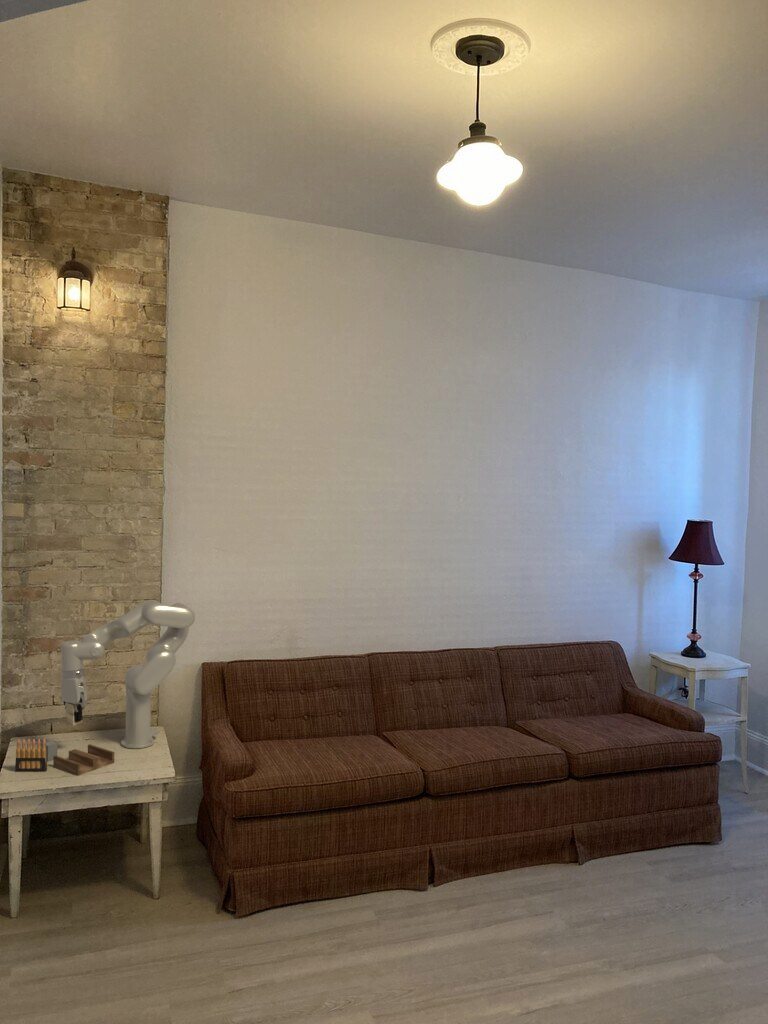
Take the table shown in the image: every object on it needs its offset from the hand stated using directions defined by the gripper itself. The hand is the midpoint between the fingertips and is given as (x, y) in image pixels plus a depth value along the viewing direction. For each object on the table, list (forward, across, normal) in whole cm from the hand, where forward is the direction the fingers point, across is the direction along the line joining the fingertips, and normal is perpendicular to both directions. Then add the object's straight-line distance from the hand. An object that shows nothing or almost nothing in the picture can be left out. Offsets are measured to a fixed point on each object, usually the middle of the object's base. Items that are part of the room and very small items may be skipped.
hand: (74, 719), depth 315 cm
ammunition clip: (+12, -3, +21) cm, 25 cm away
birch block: (+1, 0, 0) cm, 1 cm away
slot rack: (+13, -13, +6) cm, 20 cm away
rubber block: (+12, +2, +10) cm, 16 cm away
